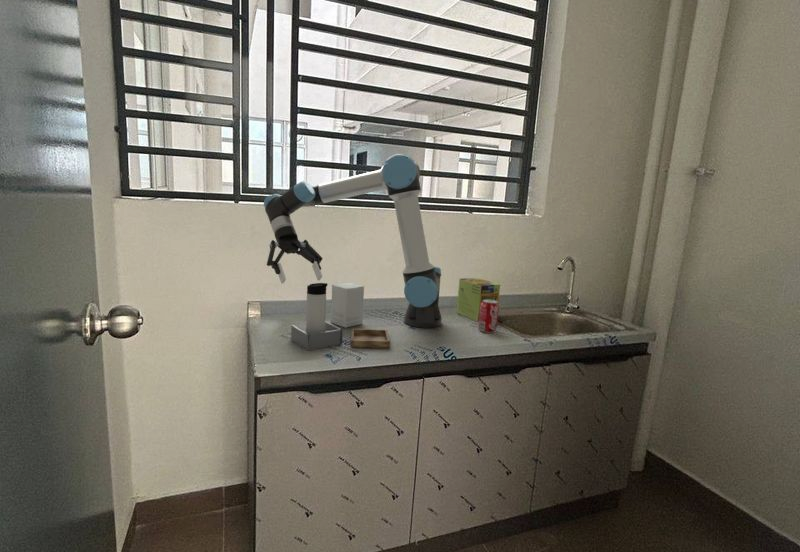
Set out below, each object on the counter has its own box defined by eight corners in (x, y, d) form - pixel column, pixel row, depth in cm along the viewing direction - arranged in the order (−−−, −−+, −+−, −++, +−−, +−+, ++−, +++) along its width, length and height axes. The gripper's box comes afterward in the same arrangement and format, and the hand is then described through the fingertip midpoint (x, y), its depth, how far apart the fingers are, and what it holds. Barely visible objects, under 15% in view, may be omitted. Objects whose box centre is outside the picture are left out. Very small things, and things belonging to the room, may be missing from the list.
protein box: (478, 322, 183) (481, 285, 180) (455, 312, 196) (458, 278, 194) (497, 320, 188) (501, 284, 185) (474, 310, 201) (477, 277, 199)
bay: (342, 344, 147) (342, 329, 146) (307, 350, 139) (307, 335, 138) (324, 334, 156) (324, 320, 155) (291, 339, 148) (291, 325, 147)
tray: (386, 336, 158) (387, 329, 157) (389, 348, 145) (390, 341, 145) (351, 335, 156) (351, 328, 156) (351, 347, 144) (351, 340, 143)
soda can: (498, 330, 173) (501, 300, 171) (494, 335, 167) (497, 304, 165) (480, 327, 176) (483, 297, 174) (475, 331, 170) (478, 301, 168)
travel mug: (321, 345, 144) (323, 285, 140) (302, 343, 145) (303, 283, 142) (328, 339, 150) (330, 282, 147) (310, 337, 151) (311, 280, 148)
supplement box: (363, 324, 171) (365, 286, 168) (345, 328, 164) (346, 288, 161) (348, 318, 177) (349, 282, 174) (330, 322, 170) (331, 284, 168)
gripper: (311, 237, 171) (330, 283, 162) (247, 238, 155) (264, 288, 147) (318, 225, 166) (338, 271, 157) (253, 224, 150) (270, 275, 142)
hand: (302, 279), depth 152 cm, fingers open, 13 cm apart
